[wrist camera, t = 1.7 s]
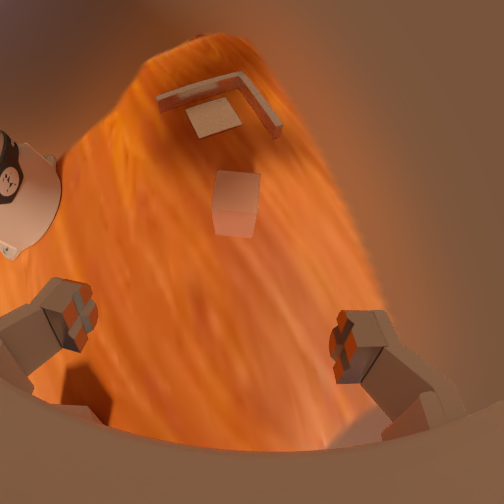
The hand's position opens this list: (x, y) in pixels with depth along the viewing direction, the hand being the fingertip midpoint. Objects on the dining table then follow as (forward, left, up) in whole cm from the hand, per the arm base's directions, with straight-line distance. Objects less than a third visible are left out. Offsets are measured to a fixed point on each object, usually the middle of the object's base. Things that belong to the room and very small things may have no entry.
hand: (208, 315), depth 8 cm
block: (-2, +12, -24) cm, 27 cm away
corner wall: (-11, +28, -24) cm, 38 cm away
